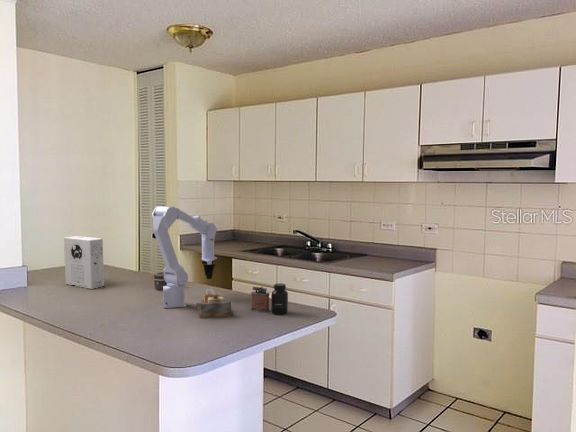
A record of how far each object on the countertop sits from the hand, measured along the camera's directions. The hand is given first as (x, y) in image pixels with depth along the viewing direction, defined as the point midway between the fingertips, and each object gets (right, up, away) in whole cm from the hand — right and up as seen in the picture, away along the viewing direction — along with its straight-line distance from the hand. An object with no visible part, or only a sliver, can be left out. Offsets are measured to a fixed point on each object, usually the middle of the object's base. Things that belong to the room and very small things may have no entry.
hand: (208, 277), depth 229 cm
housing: (+7, -10, -25) cm, 28 cm away
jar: (-25, -8, +18) cm, 32 cm away
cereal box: (-68, -8, +25) cm, 73 cm away
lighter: (+25, -11, -22) cm, 36 cm away
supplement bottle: (+34, -12, -26) cm, 44 cm away
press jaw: (+3, -9, -10) cm, 13 cm away
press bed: (+5, -11, -17) cm, 21 cm away
